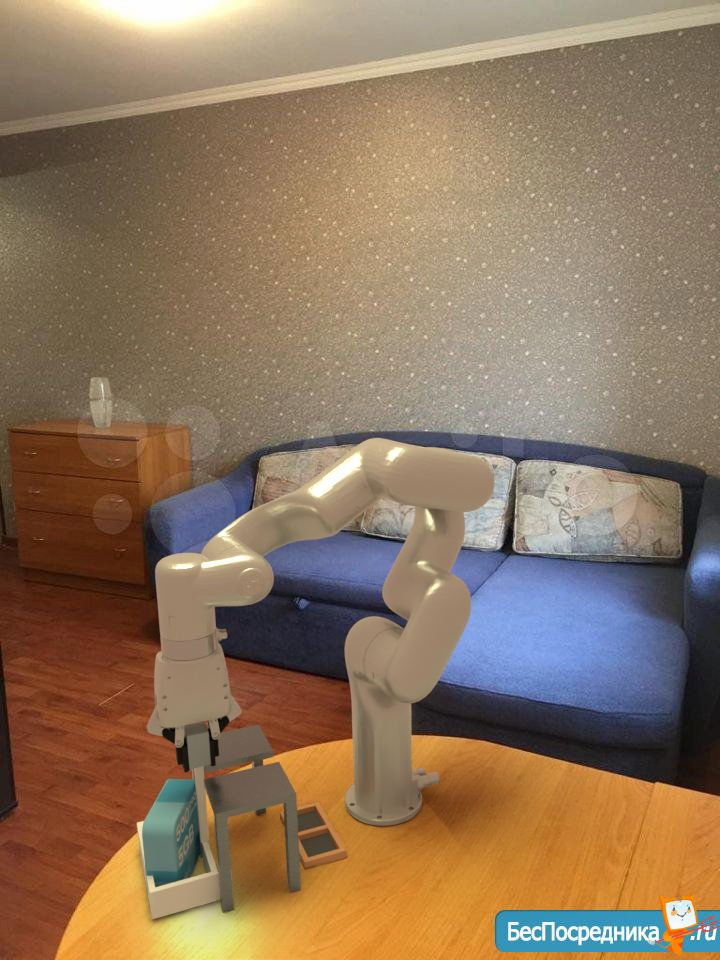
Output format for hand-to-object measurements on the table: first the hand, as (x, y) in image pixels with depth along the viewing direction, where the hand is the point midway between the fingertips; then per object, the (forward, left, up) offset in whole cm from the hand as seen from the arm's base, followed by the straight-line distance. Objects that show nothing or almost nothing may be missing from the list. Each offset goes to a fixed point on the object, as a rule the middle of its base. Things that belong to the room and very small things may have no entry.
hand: (198, 763), depth 111 cm
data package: (+4, 0, -17) cm, 17 cm away
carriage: (+4, 0, -17) cm, 17 cm away
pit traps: (-16, 0, -17) cm, 23 cm away
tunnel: (-6, 0, -17) cm, 18 cm away
